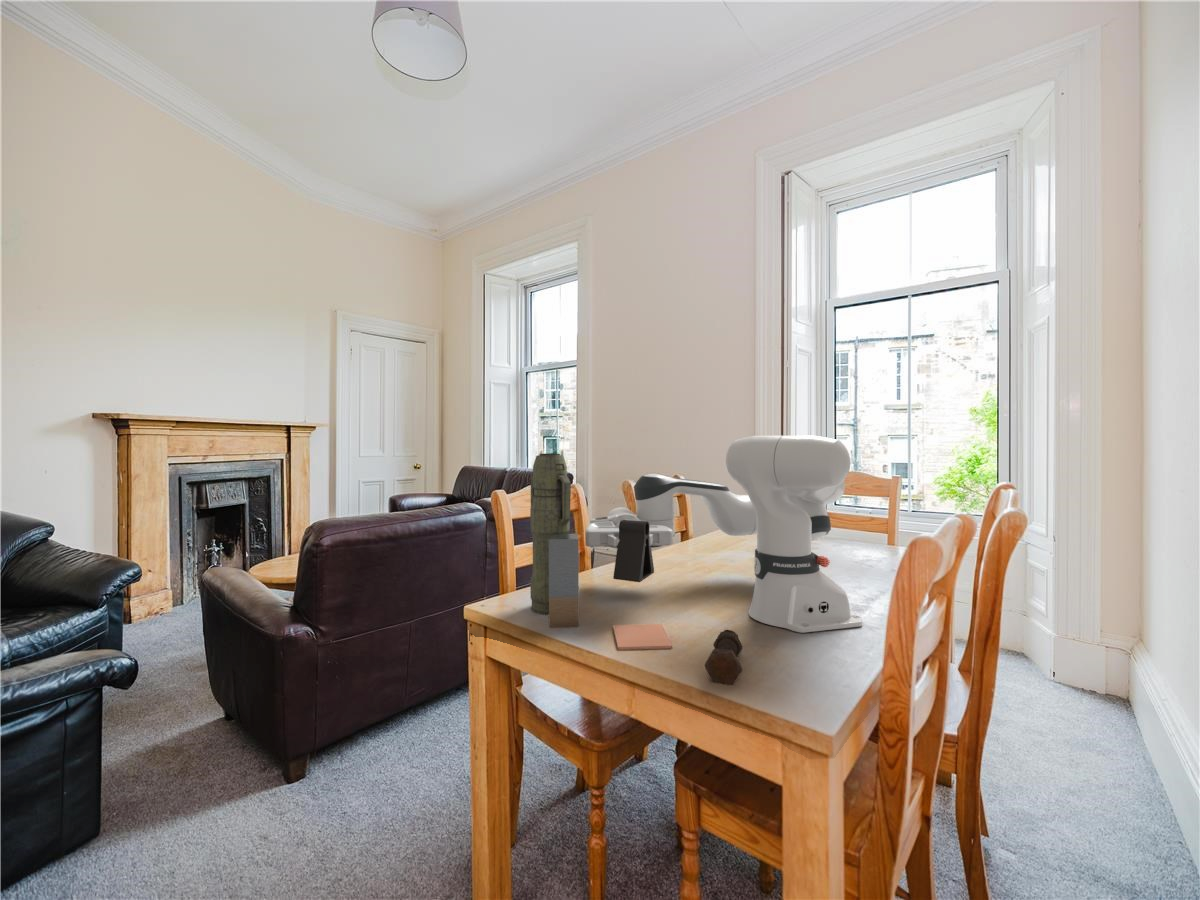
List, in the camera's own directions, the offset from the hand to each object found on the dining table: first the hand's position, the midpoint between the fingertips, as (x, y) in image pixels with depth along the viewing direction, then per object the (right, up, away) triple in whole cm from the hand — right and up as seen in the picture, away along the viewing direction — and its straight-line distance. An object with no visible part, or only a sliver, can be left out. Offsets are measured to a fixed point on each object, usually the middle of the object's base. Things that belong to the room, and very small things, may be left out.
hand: (632, 542), depth 113 cm
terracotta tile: (+1, -16, -13) cm, 20 cm away
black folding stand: (0, -7, 0) cm, 8 cm away
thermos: (-18, -16, +4) cm, 24 cm away
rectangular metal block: (-15, -16, -4) cm, 22 cm away
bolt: (+15, -17, -25) cm, 33 cm away
